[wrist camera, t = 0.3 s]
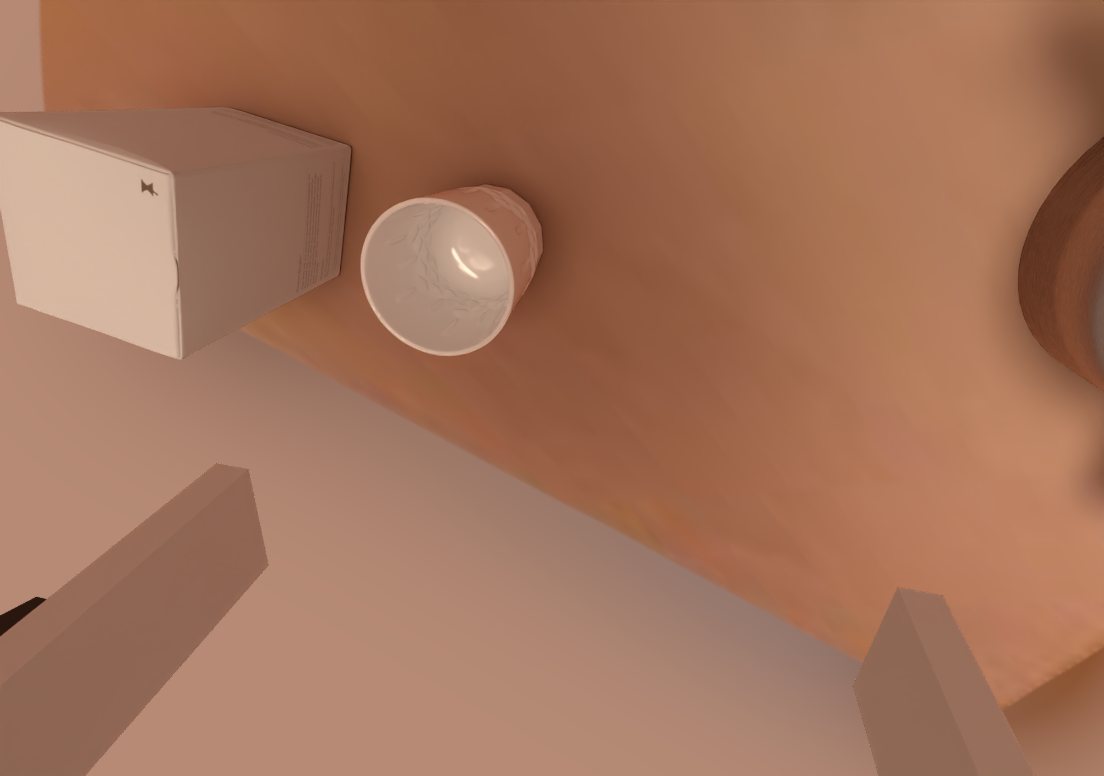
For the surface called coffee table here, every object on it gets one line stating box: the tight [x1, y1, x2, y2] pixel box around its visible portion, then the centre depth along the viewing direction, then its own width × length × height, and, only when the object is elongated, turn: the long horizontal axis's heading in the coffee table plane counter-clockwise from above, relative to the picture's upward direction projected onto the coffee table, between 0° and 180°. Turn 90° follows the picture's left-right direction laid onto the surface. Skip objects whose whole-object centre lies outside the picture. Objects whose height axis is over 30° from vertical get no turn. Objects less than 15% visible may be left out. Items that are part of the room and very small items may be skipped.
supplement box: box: [0, 107, 351, 360], centre depth 33 cm, size 9×9×15 cm
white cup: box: [361, 184, 543, 356], centre depth 33 cm, size 8×8×10 cm
